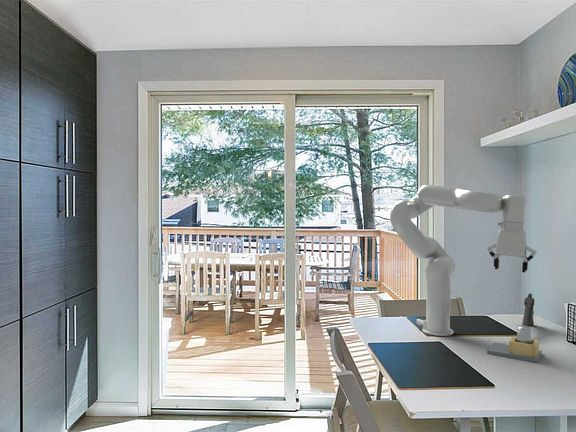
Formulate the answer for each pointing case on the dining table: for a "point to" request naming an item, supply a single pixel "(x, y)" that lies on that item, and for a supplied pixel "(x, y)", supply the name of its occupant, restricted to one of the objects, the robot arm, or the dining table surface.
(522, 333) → the pipe stub
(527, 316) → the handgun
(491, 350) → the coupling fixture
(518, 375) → the dining table surface
